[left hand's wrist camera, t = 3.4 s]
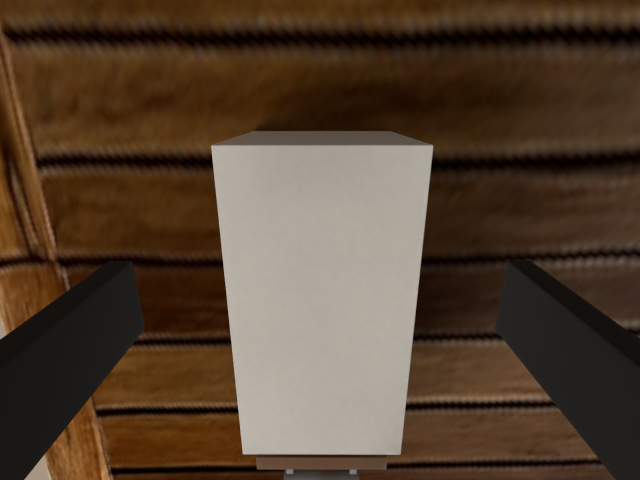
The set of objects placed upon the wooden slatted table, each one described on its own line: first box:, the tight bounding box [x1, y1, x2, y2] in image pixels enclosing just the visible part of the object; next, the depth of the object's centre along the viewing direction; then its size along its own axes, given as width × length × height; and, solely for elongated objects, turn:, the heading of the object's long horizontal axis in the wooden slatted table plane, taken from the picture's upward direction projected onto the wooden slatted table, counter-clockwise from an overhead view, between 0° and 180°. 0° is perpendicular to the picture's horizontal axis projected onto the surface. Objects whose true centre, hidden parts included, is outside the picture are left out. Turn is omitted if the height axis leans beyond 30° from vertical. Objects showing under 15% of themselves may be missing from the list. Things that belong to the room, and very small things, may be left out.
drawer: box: [256, 454, 387, 480], centre depth 28 cm, size 25×9×9 cm, turn 0°
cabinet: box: [211, 131, 433, 455], centre depth 25 cm, size 20×10×11 cm, turn 0°
